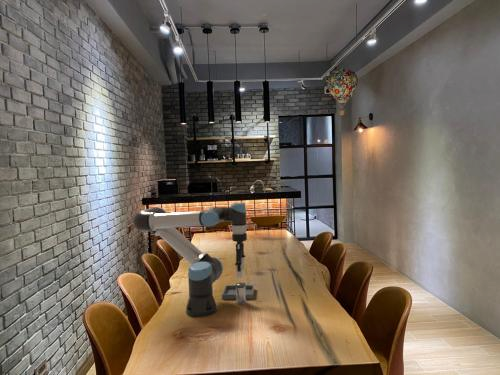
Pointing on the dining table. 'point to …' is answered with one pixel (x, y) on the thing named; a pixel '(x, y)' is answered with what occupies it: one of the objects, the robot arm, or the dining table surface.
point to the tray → (231, 292)
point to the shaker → (240, 293)
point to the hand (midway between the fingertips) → (240, 273)
